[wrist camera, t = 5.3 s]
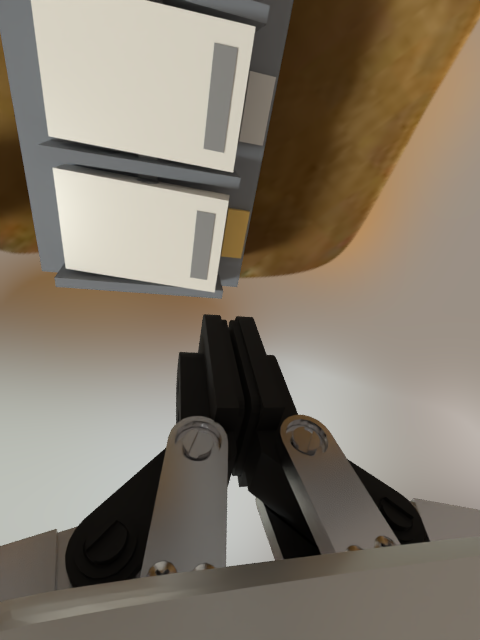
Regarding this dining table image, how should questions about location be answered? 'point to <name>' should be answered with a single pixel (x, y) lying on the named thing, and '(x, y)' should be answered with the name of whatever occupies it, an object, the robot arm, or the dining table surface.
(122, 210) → the panel
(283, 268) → the dining table surface
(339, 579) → the robot arm
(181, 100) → the panel
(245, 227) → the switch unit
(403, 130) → the dining table surface
